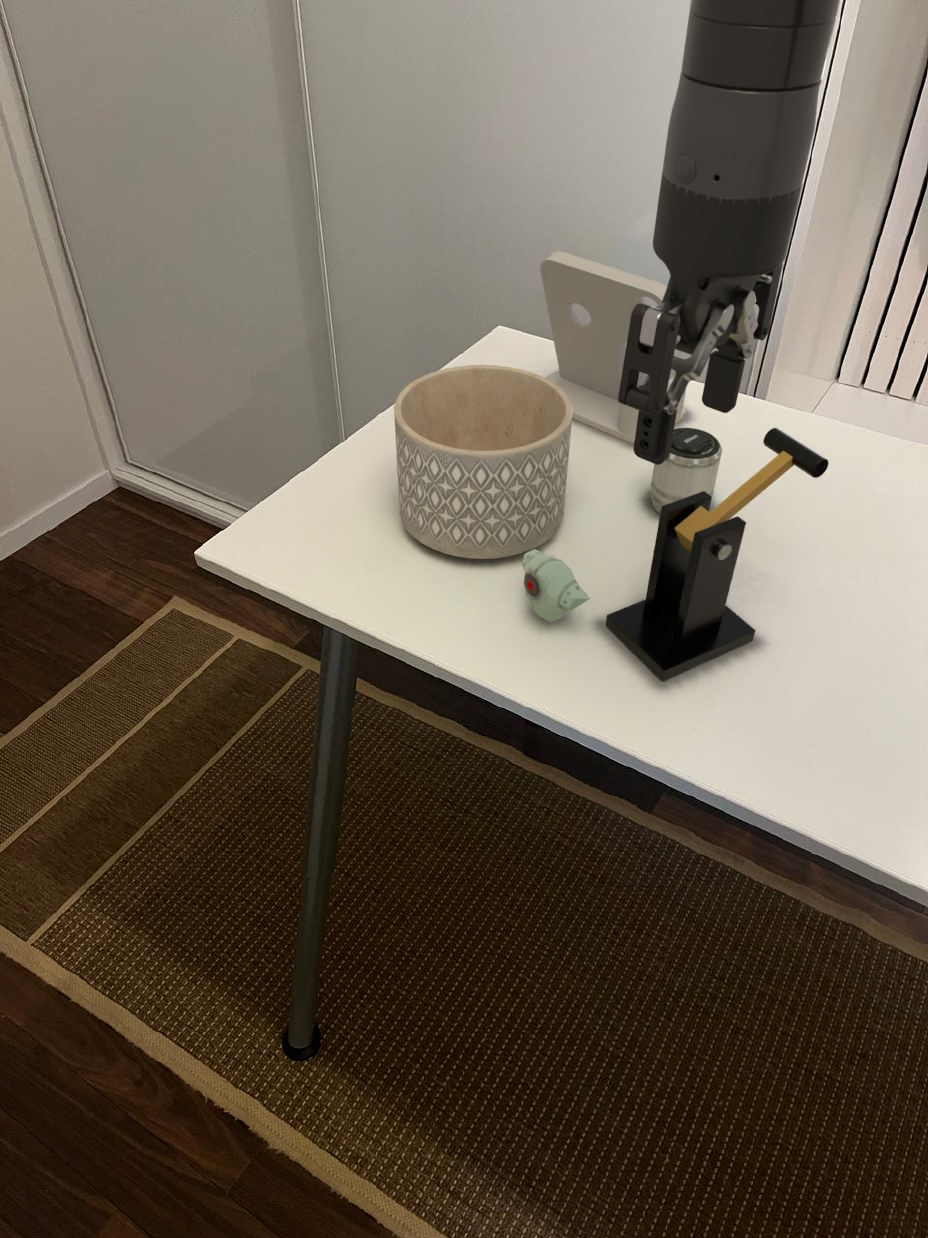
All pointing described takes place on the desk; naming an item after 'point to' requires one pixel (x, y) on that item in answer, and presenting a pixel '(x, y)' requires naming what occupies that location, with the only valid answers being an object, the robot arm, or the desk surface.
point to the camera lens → (686, 467)
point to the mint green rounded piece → (550, 586)
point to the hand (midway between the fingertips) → (685, 431)
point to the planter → (482, 459)
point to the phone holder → (595, 337)
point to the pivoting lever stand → (685, 596)
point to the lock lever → (755, 483)
